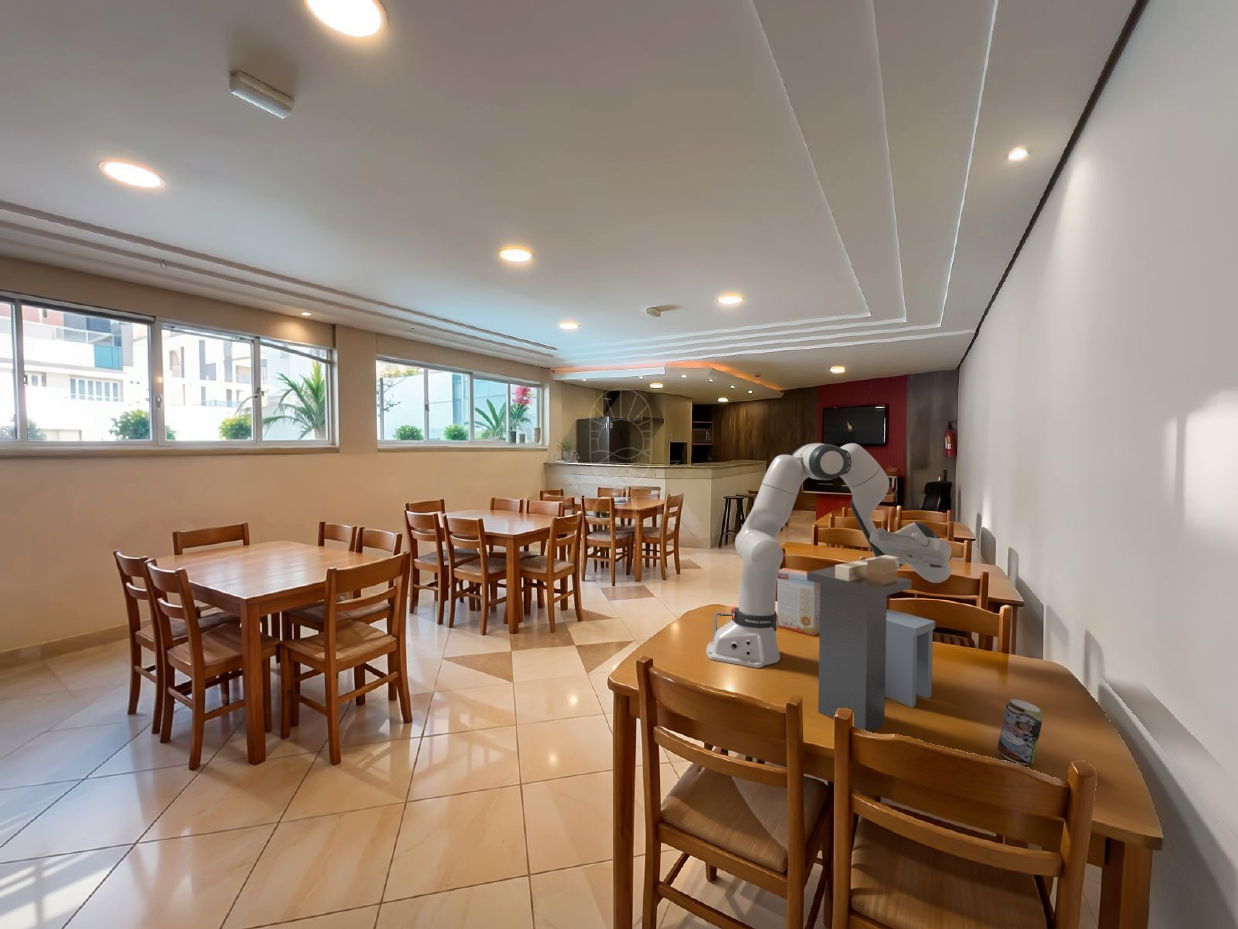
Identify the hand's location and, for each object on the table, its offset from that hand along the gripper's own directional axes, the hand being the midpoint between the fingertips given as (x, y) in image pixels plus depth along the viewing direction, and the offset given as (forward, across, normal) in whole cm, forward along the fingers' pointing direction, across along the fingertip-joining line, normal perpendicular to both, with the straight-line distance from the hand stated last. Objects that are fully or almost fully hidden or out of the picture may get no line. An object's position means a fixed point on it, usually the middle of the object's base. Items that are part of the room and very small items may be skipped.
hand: (896, 532), depth 142 cm
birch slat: (+16, +5, +18) cm, 24 cm away
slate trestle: (-15, +5, +39) cm, 42 cm away
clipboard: (-18, -53, +38) cm, 68 cm away
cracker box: (-31, -40, +30) cm, 59 cm away
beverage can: (-7, +34, +44) cm, 56 cm away
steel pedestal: (+3, +5, +49) cm, 50 cm away
